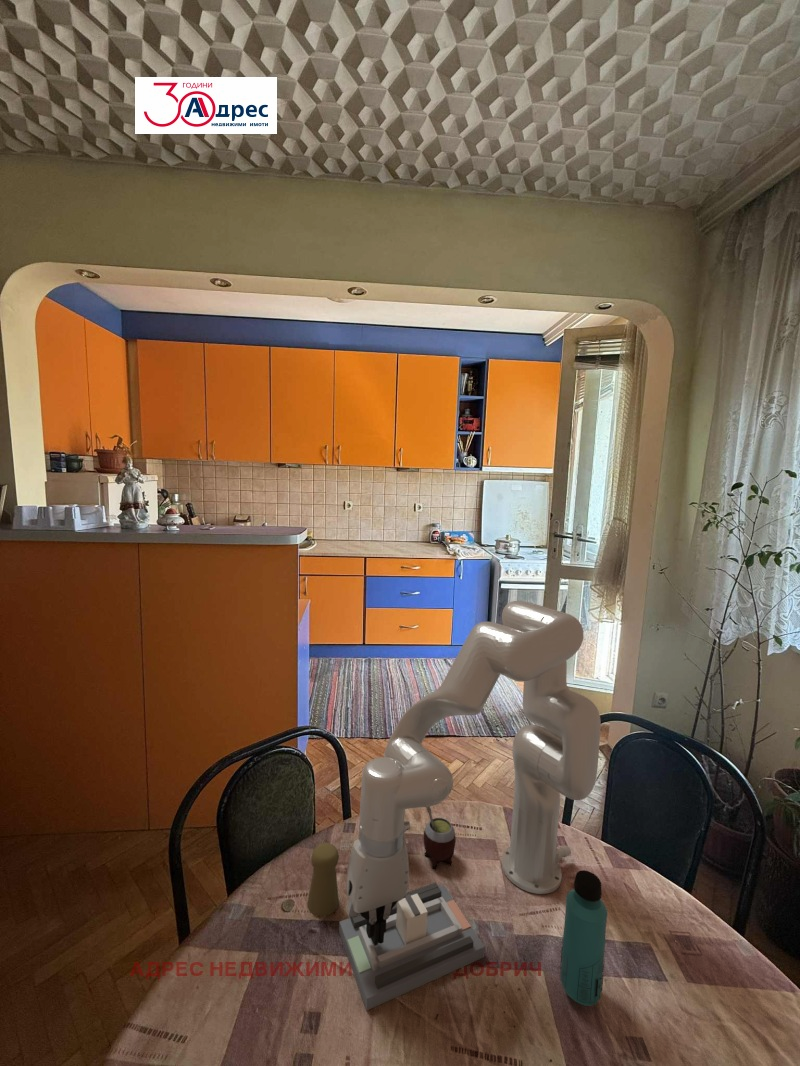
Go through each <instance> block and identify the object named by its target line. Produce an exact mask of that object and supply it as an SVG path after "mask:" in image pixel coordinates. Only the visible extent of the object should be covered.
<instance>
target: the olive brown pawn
mask: <svg viewBox="0 0 800 1066" xmlns="http://www.w3.org/2000/svg"><path fill="white" fill-rule="evenodd" d="M339 856H340V855H339V850H338V849H337V847H336V846H335V845H334V844H333V843H330V842H323V843H319V844H318V845H317V846H316V847H315V848H314V849H313V851H312V854H311V865H312V868H313V871H312V876H311V882H310V886H309V893H308V897H307V903H306V905H307V909H308V911H309V912H310V914H312V915H313V916H316V917H323V918H324V917H327V916H329V915H331V914H332V913H334V912H335V911H336V910H337V908H338V906H339V900H340V899H339V891H338V890H339V889H338V879H337V869H336V868H337V866H338V862H339V859H340V857H339Z"/></svg>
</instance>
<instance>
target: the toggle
mask: <svg viewBox="0 0 800 1066" xmlns="http://www.w3.org/2000/svg"><path fill="white" fill-rule="evenodd" d="M427 914H428V911H427V910H426V908H425V906H424V904H423V903H422V901H421V899H420V897H419V896H418V894H414V895H410V894H409V895H407V896H406V897H405V898H404V899H402V900H400V901H399V902H397V916H396V928H397V930H398V932H399V934H400V936H401V938H402V940H403V942H404V944H405V945H406V944H409V943H411V942H414V941H416V940H419V939H421V938H424V937H426V929H427Z"/></svg>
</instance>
